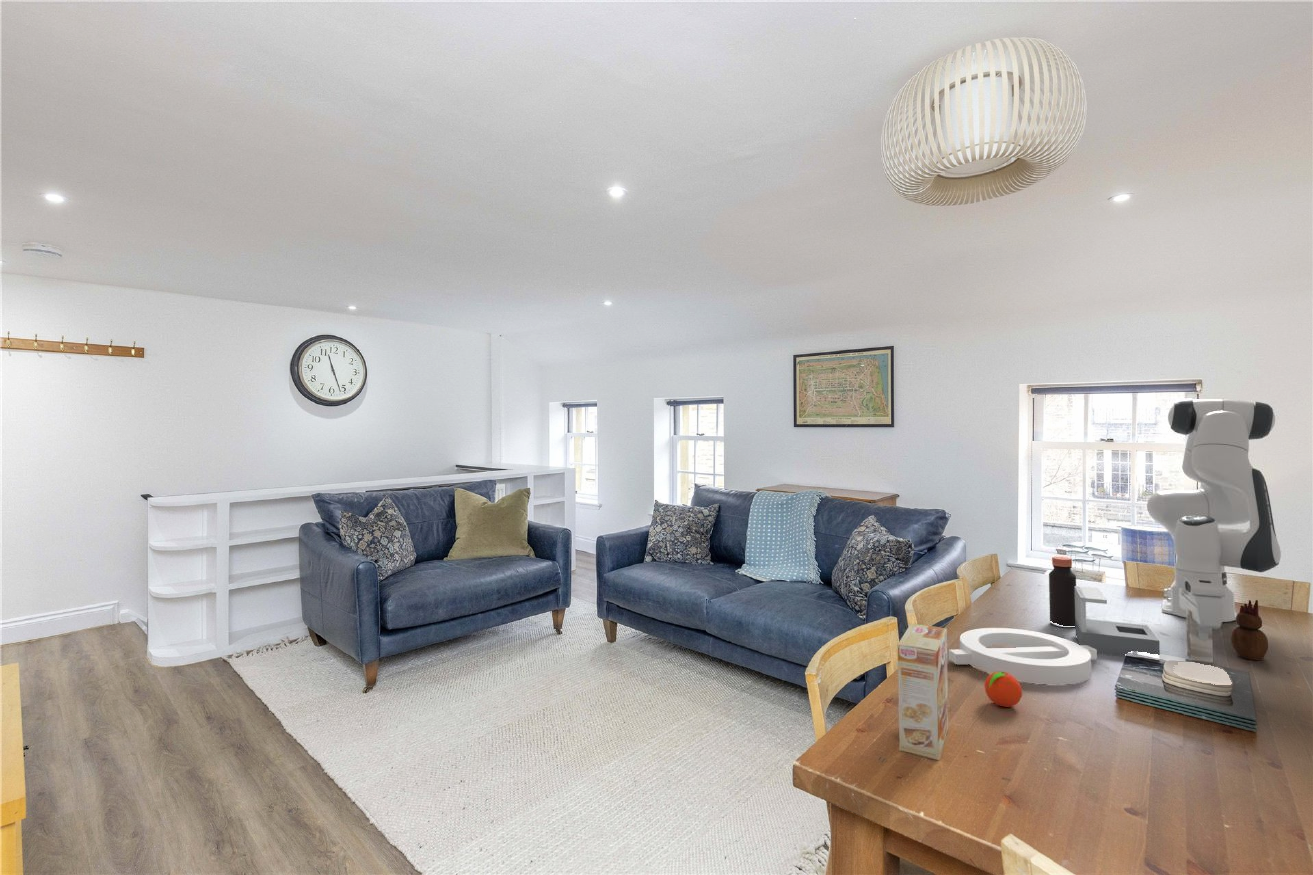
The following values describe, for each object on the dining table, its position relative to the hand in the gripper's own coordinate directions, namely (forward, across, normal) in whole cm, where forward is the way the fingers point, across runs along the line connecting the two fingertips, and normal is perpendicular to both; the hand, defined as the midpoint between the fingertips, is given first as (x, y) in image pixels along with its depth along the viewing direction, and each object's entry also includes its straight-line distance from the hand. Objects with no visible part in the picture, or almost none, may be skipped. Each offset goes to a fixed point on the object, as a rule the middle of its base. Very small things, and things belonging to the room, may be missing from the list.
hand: (1199, 636), depth 152 cm
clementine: (+6, +52, -44) cm, 68 cm away
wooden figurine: (+6, -6, +11) cm, 14 cm away
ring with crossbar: (+6, +22, -39) cm, 45 cm away
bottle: (+6, -18, -27) cm, 33 cm away
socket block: (+6, -1, -17) cm, 18 cm away
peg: (+6, 0, 0) cm, 6 cm away
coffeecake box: (+6, +74, -57) cm, 94 cm away
